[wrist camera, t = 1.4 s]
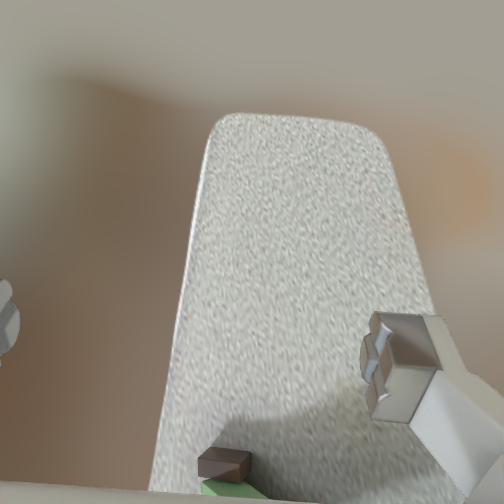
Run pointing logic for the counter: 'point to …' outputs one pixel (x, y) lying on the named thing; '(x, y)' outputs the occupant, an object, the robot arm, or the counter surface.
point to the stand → (224, 464)
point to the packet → (230, 489)
